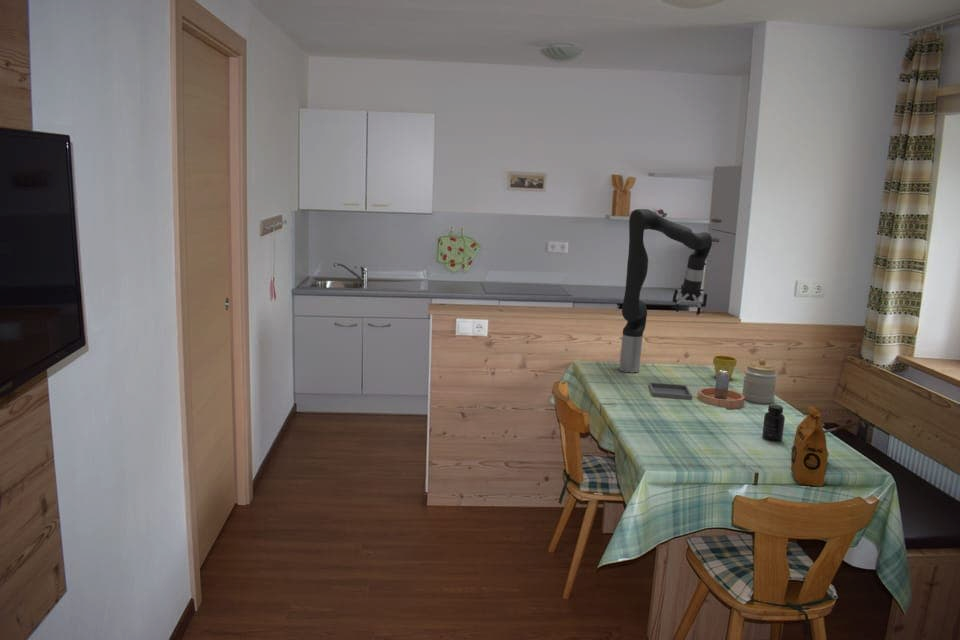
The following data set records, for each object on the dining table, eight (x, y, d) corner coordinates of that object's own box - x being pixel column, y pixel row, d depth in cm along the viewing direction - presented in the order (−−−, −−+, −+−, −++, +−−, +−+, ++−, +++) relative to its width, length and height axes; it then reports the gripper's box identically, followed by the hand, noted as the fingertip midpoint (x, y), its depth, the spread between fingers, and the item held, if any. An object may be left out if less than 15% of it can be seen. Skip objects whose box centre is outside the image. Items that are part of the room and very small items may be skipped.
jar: (776, 405, 313) (781, 364, 310) (743, 402, 316) (748, 360, 312) (771, 396, 326) (776, 356, 322) (739, 393, 328) (744, 353, 325)
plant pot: (706, 375, 355) (708, 355, 353) (723, 374, 360) (725, 354, 358) (722, 381, 346) (724, 361, 344) (739, 380, 350) (741, 359, 348)
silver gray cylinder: (715, 401, 311) (718, 371, 309) (712, 397, 316) (716, 368, 314) (727, 401, 311) (731, 372, 308) (725, 398, 316) (728, 369, 313)
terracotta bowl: (701, 406, 306) (702, 398, 305) (694, 394, 323) (695, 386, 323) (747, 410, 304) (748, 402, 303) (737, 397, 322) (738, 389, 321)
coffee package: (791, 483, 231) (800, 414, 227) (787, 469, 243) (796, 403, 238) (826, 489, 228) (837, 419, 224) (821, 474, 240) (831, 408, 236)
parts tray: (652, 398, 314) (652, 392, 313) (648, 387, 329) (648, 382, 329) (691, 401, 312) (692, 395, 311) (685, 390, 328) (686, 385, 327)
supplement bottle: (765, 434, 276) (769, 402, 274) (784, 438, 272) (789, 406, 270) (758, 438, 271) (763, 406, 269) (778, 443, 267) (782, 410, 265)
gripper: (710, 278, 330) (703, 313, 336) (676, 273, 333) (670, 308, 339) (710, 283, 323) (703, 318, 329) (676, 278, 326) (670, 313, 332)
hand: (687, 313), depth 334 cm, fingers open, 8 cm apart
